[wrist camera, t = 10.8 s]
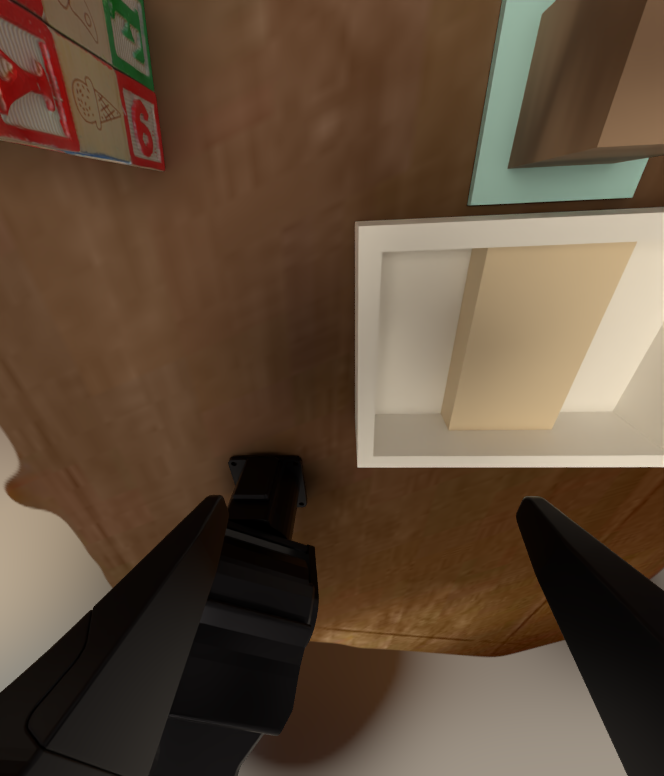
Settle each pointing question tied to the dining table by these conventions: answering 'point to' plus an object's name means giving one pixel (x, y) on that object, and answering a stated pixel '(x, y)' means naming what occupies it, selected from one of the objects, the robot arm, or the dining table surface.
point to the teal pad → (500, 123)
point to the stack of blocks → (79, 80)
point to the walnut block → (594, 85)
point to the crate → (511, 340)
